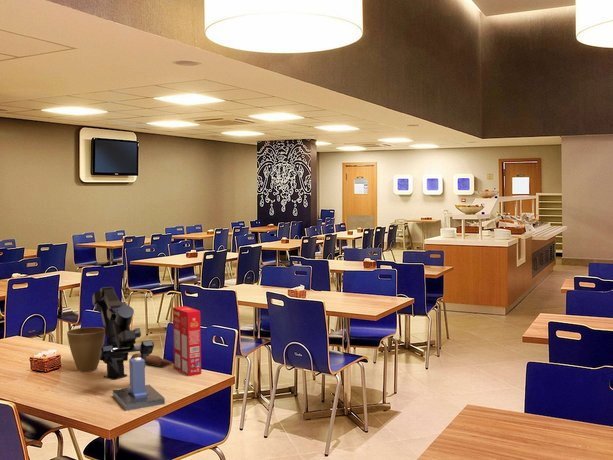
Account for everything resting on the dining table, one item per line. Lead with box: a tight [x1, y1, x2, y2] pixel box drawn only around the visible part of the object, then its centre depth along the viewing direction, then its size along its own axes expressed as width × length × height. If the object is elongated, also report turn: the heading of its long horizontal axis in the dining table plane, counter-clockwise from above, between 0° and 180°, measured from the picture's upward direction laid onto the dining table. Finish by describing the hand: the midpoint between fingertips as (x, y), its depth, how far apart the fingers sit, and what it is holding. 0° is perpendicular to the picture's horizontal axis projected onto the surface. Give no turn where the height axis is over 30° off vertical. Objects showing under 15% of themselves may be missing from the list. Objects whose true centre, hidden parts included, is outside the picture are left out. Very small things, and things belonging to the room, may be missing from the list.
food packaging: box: [172, 305, 202, 377], centre depth 255 cm, size 15×5×25 cm, turn 34°
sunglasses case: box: [130, 352, 174, 368], centre depth 269 cm, size 18×7×7 cm
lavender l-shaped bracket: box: [127, 357, 147, 399], centre depth 220 cm, size 10×4×15 cm, turn 29°
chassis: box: [112, 384, 166, 411], centre depth 220 cm, size 18×13×2 cm
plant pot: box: [66, 326, 106, 372], centre depth 260 cm, size 15×15×16 cm
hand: (131, 370), depth 227 cm, fingers open, 9 cm apart
